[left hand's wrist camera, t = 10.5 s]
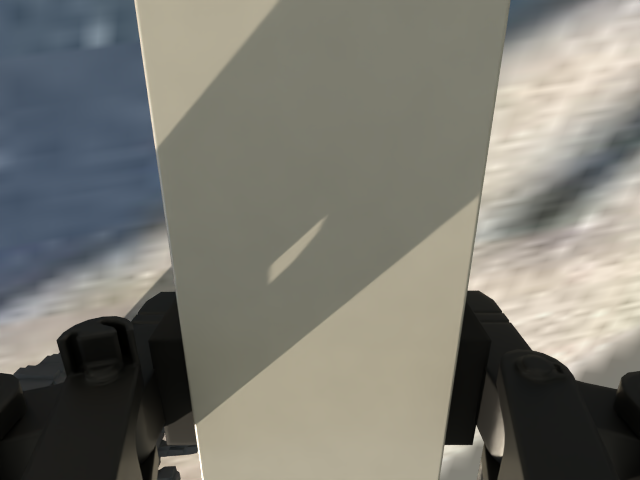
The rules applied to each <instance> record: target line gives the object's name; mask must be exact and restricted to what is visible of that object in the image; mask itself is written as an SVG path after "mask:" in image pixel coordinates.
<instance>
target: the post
mask: <svg viewBox="0 0 640 480" xmlns="http://www.w3.org/2000/svg"><path fill="white" fill-rule="evenodd" d="M509 6H510V0H135V7H136V14H137V21H138V29H139V36H140V43H141V50H142V57H143V64H144V71H145V78H146V85H147V92H148V99H149V107H150V114H151V121H152V128H153V135H154V142H155V149H156V156H157V163H158V170H159V177H160V184H161V192H162V199H163V206H164V213H165V220H166V227H167V234H168V241H169V248H170V255H171V262H172V269H173V277H174V284H175V291H176V298H177V305H178V312H179V319H180V326H181V333H182V340H183V347H184V355H185V362H186V369H187V376H188V383H189V390H190V397H191V404H192V411H193V418H194V425H195V432H196V440H197V447H198V454H199V461H200V468H201V475H202V480H439V478H440V471H441V465H442V458H443V451H444V444H445V438H446V431H447V424H448V417H449V411H450V404H451V397H452V390H453V384H454V377H455V370H456V364H457V357H458V350H459V343H460V337H461V330H462V323H463V316H464V310H465V303H466V296H467V289H468V283H469V276H470V269H471V262H472V256H473V249H474V242H475V235H476V229H477V222H478V215H479V209H480V202H481V195H482V188H483V182H484V175H485V168H486V161H487V155H488V148H489V141H490V134H491V128H492V121H493V114H494V107H495V101H496V94H497V87H498V80H499V74H500V67H501V60H502V53H503V47H504V40H505V33H506V27H507V20H508V13H509Z"/></svg>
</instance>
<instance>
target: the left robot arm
mask: <svg viewBox="0 0 640 480" xmlns="http://www.w3.org/2000/svg"><path fill="white" fill-rule="evenodd" d="M57 344H58V347H59V351H60V355H61V358H62V362H63V365H64V369H65V372H66V376H67V377H66V379H65V381H64V382H63V383H59V384H55V385H50V386H46V387H41V388H36V389H31V390H26V391H22V388H21V385H20V382H19V379H18V378H16V377H15V376H14V375H12V374H4V373H0V480H157V475H158V465H159V458H158V451H157V446H156V442H157V440H158V438H159V436H160V433H161V431H162V429H163V427H164V430H165V435H166V441H167V445H197V440H196V432H195V425H194V418H193V411H192V404H191V397H190V390H189V383H188V376H187V369H186V362H185V355H184V347H183V340H182V333H181V326H180V319H179V312H178V305H177V298H176V292H160V293H159V294H157V295H156V296H154V297H153V298H151V299H150V300H148V301H147V302H146V303H145V304H144V305H143V307H142V308H141V309H140V311H139V312H138V315H136V316H135V317H134V319H133V320H132V321H131V322H130V321H129V320H127V319H126V318H122V317H117V316H109V317H99V318H95V319H90V320H87V321H84V322H82V323H79V324H77V325H74V326H73V327H71V328H70V329H68V330H67V331H65V332H63V334H62V335H61V336H60V337H59V338H58V339H57ZM476 425H477V427H478V430H479V432H480V434H481V436H482V439H483V441H484V446H483V451H482V457H481V461H480V467H479V472H478V477H477V480H640V371H637V372H629V373H627V374H626V375H624V376H623V377H622V378H621V381H620V384H619V387H618V389H613V388H608V387H603V386H598V385H593V384H589V383H584V382H580V381H577V380H575V378H574V376H573V374H572V373H571V372H570V370H569V369H568V368H567V367H566V366H565V365H563V364H562V363H561V362H559V361H558V360H557V359H555V358H553V357H550V356H548V355H546V354H544V353H540V352H536V351H532V350H531V348H530V347H529V346H528V344H527V343H526V342H525V340H524V339H523V338H522V337H521V335H520V334H519V333H518V331H517V330H516V329H515V327H514V326H513V325H512V324H511V323H509V320H508V318H507V317H506V316H505V314H504V313H502V311H501V309H500V308H499V307H498V305H497V304H496V303H495V301H494V300H493V299H491V298H489V297H488V296H486V295H485V294H483V293H482V292H480V291H467V296H466V303H465V310H464V316H463V323H462V330H461V337H460V343H459V350H458V357H457V364H456V370H455V377H454V384H453V390H452V397H451V404H450V411H449V417H448V424H447V431H446V438H445V444H444V445H473V439H474V434H475V428H476Z"/></svg>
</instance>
